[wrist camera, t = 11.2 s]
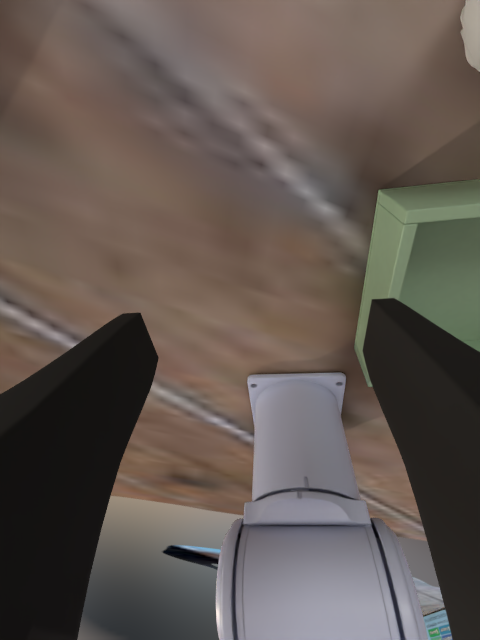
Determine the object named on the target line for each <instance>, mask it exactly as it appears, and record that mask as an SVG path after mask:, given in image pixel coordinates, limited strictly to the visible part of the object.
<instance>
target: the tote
mask: <svg viewBox="0 0 480 640" xmlns="http://www.w3.org/2000/svg"><path fill="white" fill-rule="evenodd" d="M385 298H395V299H397V300H398V301H400V302H402V303H403V304H405V305H407V306H408V307H410V308H411V309H413V310H414V311H416V312H417V313H419V314H420V315H422V316H423V317H425V318H427V319H428V320H430V321H431V322H433V323H434V324H436V325H437V326H439V327H440V328H442V329H443V330H445V331H447V332H448V333H450V334H451V335H453V336H454V337H456V338H458V339H459V340H461V341H462V342H464V343H466V344H467V345H469V346H471V347H472V348H474V349H476V350H477V351H479V352H480V179H474V180H465V181H455V182H446V183H437V184H427V185H418V186H409V187H399V188H390V189H381V190H379V191H378V197H377V204H376V210H375V217H374V223H373V229H372V236H371V242H370V249H369V255H368V261H367V268H366V274H365V280H364V287H363V293H362V300H361V306H360V312H359V319H358V325H357V332H356V338H355V344H354V349H355V352H356V355H357V357H358V360H359V363H360V366H361V368H362V371H363V374H364V377H365V379H366V382H367V385H368V387H373V386H372V384H371V381H370V378H369V374H368V371H367V367H366V363H365V359H364V355H363V351H362V350H363V345H364V339H365V334H366V328H367V323H368V317H369V312H370V306H371V301H372V299H385Z"/></svg>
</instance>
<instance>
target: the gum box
mask: <svg viewBox="0 0 480 640" xmlns="http://www.w3.org/2000/svg"><path fill="white" fill-rule="evenodd" d="M423 618H424V623H425V627H426V632H427V637H428V640H453V639H452V635H451V631H450V626H449V622H448V618H447V614H446V610H445V609H444V610H441V611H439V612H435V613H432V614H430V615H427V616H424V617H423Z"/></svg>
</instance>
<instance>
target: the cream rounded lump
mask: <svg viewBox="0 0 480 640" xmlns="http://www.w3.org/2000/svg"><path fill="white" fill-rule="evenodd" d="M465 2H466V4H465V6H464V7H463V9H462V11H461V16H460V20H461V23H462V26H463V29H462V30H461V36H462V39H463V41H464V47H465V55H466V59H467V62H468V63H469V64H470V65H471V66H472V67H474V68H476V69H477V70H478V71H479V72H480V0H465Z"/></svg>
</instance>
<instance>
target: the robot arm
mask: <svg viewBox="0 0 480 640" xmlns="http://www.w3.org/2000/svg"><path fill="white" fill-rule="evenodd" d="M362 351H363V355H364V359H365V363H366V367H367V371H368V374H369V378H370V381H371V384H372V386H373V389H374V391H375V393H376V396H377V398H378V401H379V403H380V406H381V408H382V410H383V413H384V415H385V418H386V420H387V422H388V425H389V427H390V429H391V432H392V434H393V437H394V439H395V441H396V444H397V446H398V448H399V451H400V454H401V456H402V459H403V462H404V464H405V467H406V470H407V474H408V477H409V480H410V483H411V487H412V490H413V493H414V496H415V500H416V503H417V506H418V510H419V513H420V517H421V520H422V524H423V527H424V531H425V534H426V538H427V541H428V545H429V548H430V551H431V556H432V559H433V563H434V567H435V571H436V575H437V578H438V582H439V586H440V590H441V594H442V598H443V601H444V606H445V610H446V614H447V618H448V622H449V626H450V631H451V635H452V639H453V640H480V352H479V351H477V350H476V349H474V348H472V347H471V346H469V345H467V344H466V343H464V342H462V341H461V340H459V339H458V338H456V337H454V336H453V335H451V334H450V333H448V332H447V331H445V330H443V329H442V328H440V327H439V326H437V325H436V324H434V323H433V322H431V321H430V320H428V319H427V318H425V317H423V316H422V315H420V314H419V313H417V312H416V311H414V310H413V309H411V308H410V307H408V306H407V305H405V304H403V303H402V302H400V301H398V300H397V299H395V298H385V299H372V301H371V306H370V312H369V317H368V323H367V328H366V334H365V339H364V345H363V350H362ZM157 362H158V355H157V353H156V351H155V348H154V346H153V343H152V341H151V338H150V336H149V333H148V331H147V328H146V326H145V323H144V321H143V318H142V316H141V313H127V314H122V315H120V316H118V317H116V318H115V319H113V320H112V321H110V322H109V323H107V324H106V325H104V326H103V327H101V328H100V329H98V330H97V331H96V332H94V333H93V334H91V335H90V336H89V337H87V338H86V339H84V340H83V341H81V342H80V343H79V344H77V345H76V346H74V347H73V348H72V349H70V350H69V351H67V352H66V353H64V354H63V355H62V356H60V357H59V358H57V359H56V360H54V361H53V362H51V363H50V364H48V365H47V366H45V367H43V368H42V369H40V370H39V371H37V372H36V373H34V374H33V375H31V376H30V377H28V378H27V379H25V380H24V381H22V382H20V383H19V384H17V385H15V386H14V387H12V388H10V389H9V390H7V391H5V392H4V393H2V394H0V640H77V638H78V632H79V627H80V622H81V617H82V612H83V607H84V602H85V597H86V592H87V587H88V583H89V578H90V573H91V569H92V565H93V561H94V557H95V552H96V548H97V544H98V540H99V536H100V532H101V528H102V524H103V521H104V517H105V513H106V510H107V506H108V502H109V499H110V495H111V492H112V489H113V485H114V482H115V479H116V475H117V472H118V469H119V465H120V462H121V460H122V457H123V454H124V451H125V449H126V446H127V444H128V441H129V439H130V437H131V434H132V432H133V429H134V427H135V425H136V422H137V420H138V417H139V415H140V413H141V410H142V408H143V405H144V403H145V400H146V398H147V396H148V393H149V391H150V388H151V385H152V382H153V378H154V375H155V371H156V367H157ZM247 382H248V389H249V395H250V402H251V408H252V414H253V421H254V427H255V437H254V463H253V489H252V502H245V504H244V519H237V520H235V521H234V523H233V524H232V526H231V528H230V529H229V531H228V532H227V534H226V536H225V538H224V541H223V544H222V547H221V552H220V557H219V563H218V572H217V583H216V619H217V629H218V634H219V639H220V640H428V637H427V632H426V627H425V623H424V618H423V614H422V610H421V606H420V602H419V599H418V595H417V592H416V588H415V585H414V581H413V578H412V575H411V572H410V569H409V566H408V563H407V560H406V557H405V555H404V552H403V549H402V547H401V544H400V542H399V540H398V538H397V536H396V534H395V533H394V531H393V530H391V529H390V528H389V527H388V526H387V525H386V524H385V523H384V521H383V520H382V519H380V518H371V519H370V516H369V512H368V508H367V504H366V501H365V500H361V499H360V495H359V490H358V486H357V482H356V478H355V474H354V469H353V465H352V461H351V457H350V453H349V449H348V444H347V440H346V436H345V432H344V428H343V423H342V419H341V410H342V404H343V397H344V390H345V383H346V377H345V374H344V373H340V372H337V373H298V374H258V375H250V376H248V380H247Z"/></svg>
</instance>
